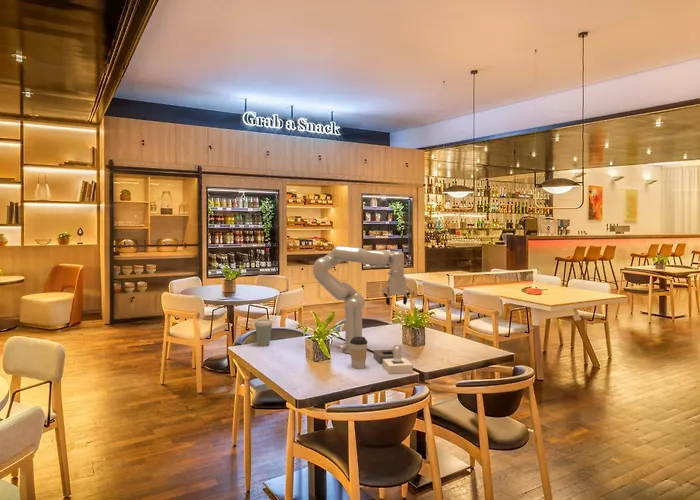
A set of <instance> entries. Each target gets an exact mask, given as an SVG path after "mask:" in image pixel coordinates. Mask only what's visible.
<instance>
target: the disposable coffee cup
mask: <svg viewBox="0 0 700 500" xmlns="http://www.w3.org/2000/svg"><path fill="white" fill-rule="evenodd" d="M254 326H255V333H256V339H257V345H258V346H259V347H268V346H270V343H271V334H272V327H273V321H272V320H271V319H266V318H260V319H256V320H255V321H254Z"/></svg>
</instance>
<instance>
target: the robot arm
mask: <svg viewBox="0 0 700 500" xmlns="http://www.w3.org/2000/svg"><path fill="white" fill-rule="evenodd" d="M341 262H350V263H351V262H352V263H358V264H365V265H372V266H373V265H374V266H381V267H382V266H386V265H389V264H390V265H389V266H390V270H389V271H388V272H387V275H389V276H388V279H387V286H386V287H385V288H382V289H381V292H382V294H383V296H384V297H385V303H386V305H388V306H390V305H391V304H390V303H391V302H390V301H391V300H390V299H391V298H390V297H391V296H394V295H395V296H400V295H402V296H403V299H402V304H403V305H407V303H408V297H409V296H410V295H411V292H412V288H410V287H408V286H407V280H406V279H407V278H406V276H405V268H404V266H405V254H404V252H403V251H402V252H401V251H387V250H382V251H377V250H376V251H374V250H367V249H364V248H362V247H357V246H349V245H344V244H338V245H334V247H333V248H332V250H331V251H330V252H329V253H326V255H324V256H322V257H319V258H317V259H316V260H315V262H314V263H313V266H312V272H313V273H312V274H313V276H314V279H315V280H316V281H317V282H318V283H319V284H320V285H321V286H322V287H323V288H324V289H325V290H326V291H327V292H328V293H329V294H331V296H332V297H334V299H335V300H338V301H344V302H345V304H344V313H345V314H344V315H345V316H344V317H345V326H344V327H345V328H344V329H345V335H344V337H345V339H344V342H343V344H337V345H336V348H337V349H340V350H342V352H343V353H344V354H348V355H351V350H350V347H351V345H350V341H351V340H352V338H354V337H363V312H362V311H363V309H364V307H365V304H366V301H365V298H364V296H363V295H361V294H360V293H359V292H358V291H357V290H356V288H354V287H353V286H352V285H351V284H350V283H348V282H346V281H339V280H338V279H337V278H336V277H335V276H334V275H332V274H331V273H330V272H329V271H330V270H332V269H333V268H335V267H336V266H337V265H339V264H340V263H341ZM386 292H387V293H386Z"/></svg>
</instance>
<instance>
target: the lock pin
mask: <svg viewBox="0 0 700 500" xmlns="http://www.w3.org/2000/svg"><path fill="white" fill-rule="evenodd" d="M402 347H403V346H402V345H398V344H396V345H393V349H394V351H393V364H400V363H401V355H402V350H403V349H402Z"/></svg>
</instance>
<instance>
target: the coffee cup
mask: <svg viewBox="0 0 700 500" xmlns="http://www.w3.org/2000/svg"><path fill="white" fill-rule="evenodd" d="M350 345H351V347H350V350H351V354H350V360H351V367H352V368H353V369H359V370H361V369H364V368H366V359H367V352H368V351H367V350H368V339H366V337H365V336H362V337H354V338H352V340H351V341H350Z"/></svg>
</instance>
